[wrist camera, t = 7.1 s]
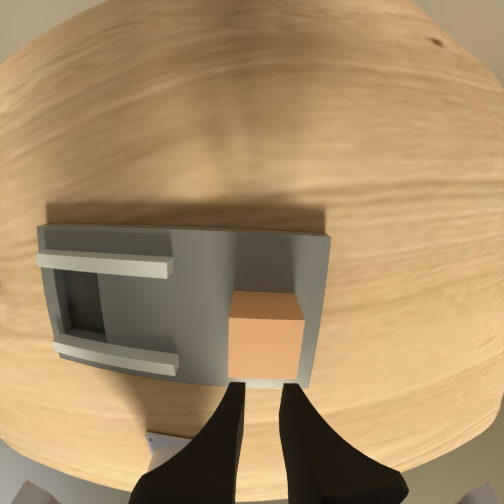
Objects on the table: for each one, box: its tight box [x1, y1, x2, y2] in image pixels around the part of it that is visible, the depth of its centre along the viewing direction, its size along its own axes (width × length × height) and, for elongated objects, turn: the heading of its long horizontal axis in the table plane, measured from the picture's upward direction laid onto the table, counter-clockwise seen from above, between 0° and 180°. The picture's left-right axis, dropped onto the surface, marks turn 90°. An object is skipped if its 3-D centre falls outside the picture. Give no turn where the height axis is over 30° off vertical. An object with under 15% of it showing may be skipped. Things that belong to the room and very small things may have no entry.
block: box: [228, 291, 305, 379], centre depth 17 cm, size 4×4×4 cm
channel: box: [35, 224, 331, 389], centre depth 19 cm, size 12×22×3 cm, turn 87°
